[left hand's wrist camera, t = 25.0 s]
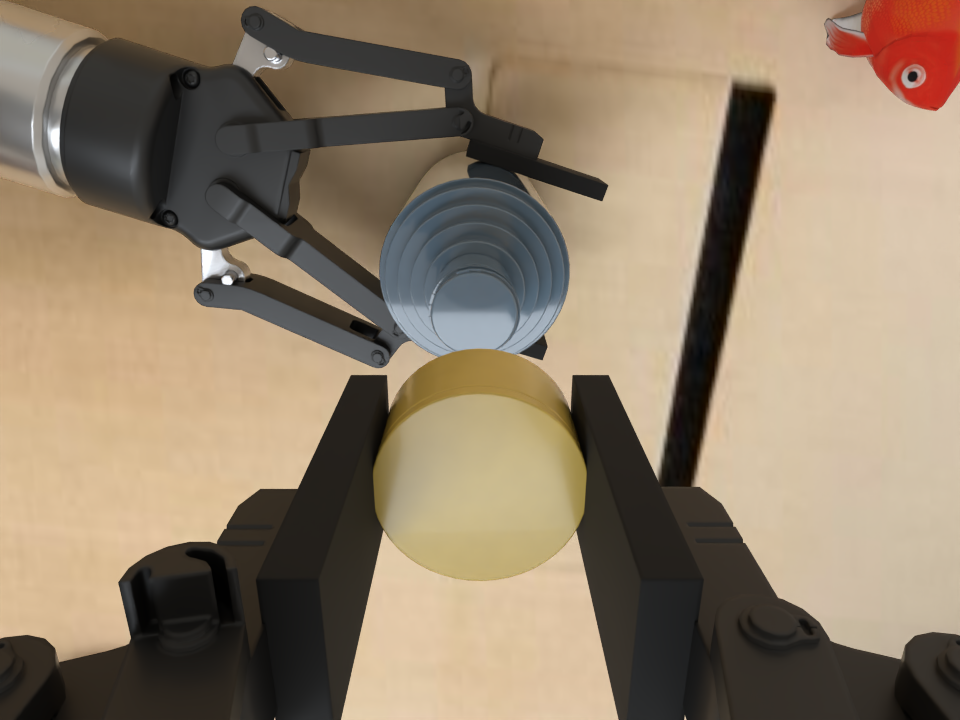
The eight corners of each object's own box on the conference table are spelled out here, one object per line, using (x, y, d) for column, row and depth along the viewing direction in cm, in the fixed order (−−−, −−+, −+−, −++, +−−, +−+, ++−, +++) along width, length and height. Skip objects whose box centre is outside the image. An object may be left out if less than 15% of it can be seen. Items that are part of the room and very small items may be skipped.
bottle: (551, 263, 40) (609, 392, 23) (430, 293, 41) (395, 440, 23) (524, 135, 37) (565, 170, 20) (394, 168, 38) (326, 231, 21)
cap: (576, 345, 14) (593, 390, 12) (570, 513, 15) (584, 580, 13) (380, 349, 14) (362, 394, 12) (392, 515, 15) (378, 583, 13)
